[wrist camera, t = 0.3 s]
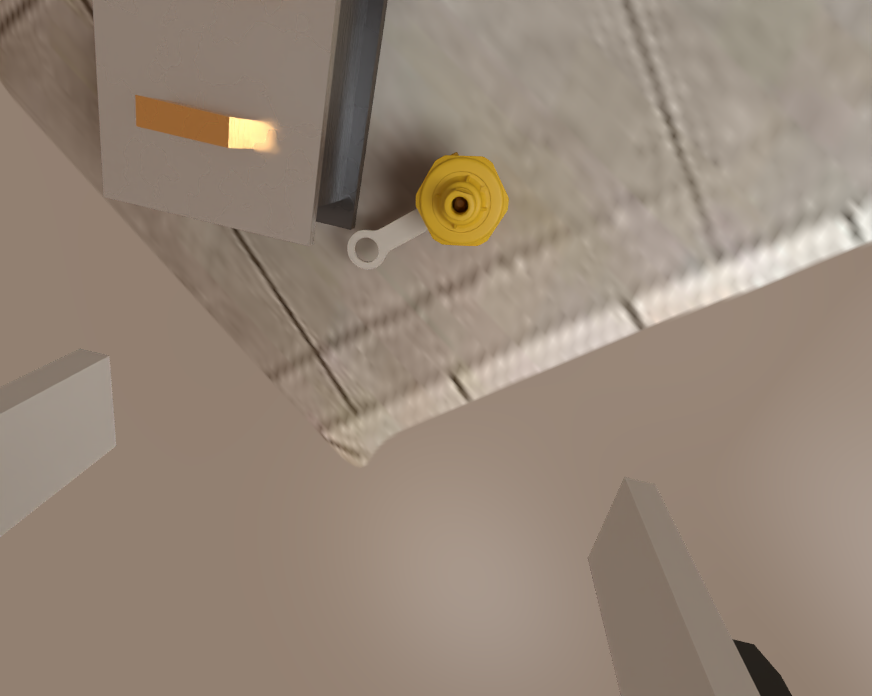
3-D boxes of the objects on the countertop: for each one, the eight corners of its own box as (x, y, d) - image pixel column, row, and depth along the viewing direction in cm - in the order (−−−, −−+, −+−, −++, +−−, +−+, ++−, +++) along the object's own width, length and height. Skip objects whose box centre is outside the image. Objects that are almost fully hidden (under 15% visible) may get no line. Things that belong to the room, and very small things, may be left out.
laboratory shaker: (182, -124, 30) (19, -273, 20) (398, -75, 30) (350, -198, 19) (181, 186, 37) (62, 198, 27) (354, 227, 37) (302, 256, 27)
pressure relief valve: (514, 210, 35) (523, 229, 26) (378, 281, 39) (343, 321, 29) (481, 139, 34) (478, 133, 25) (342, 219, 37) (293, 241, 28)
